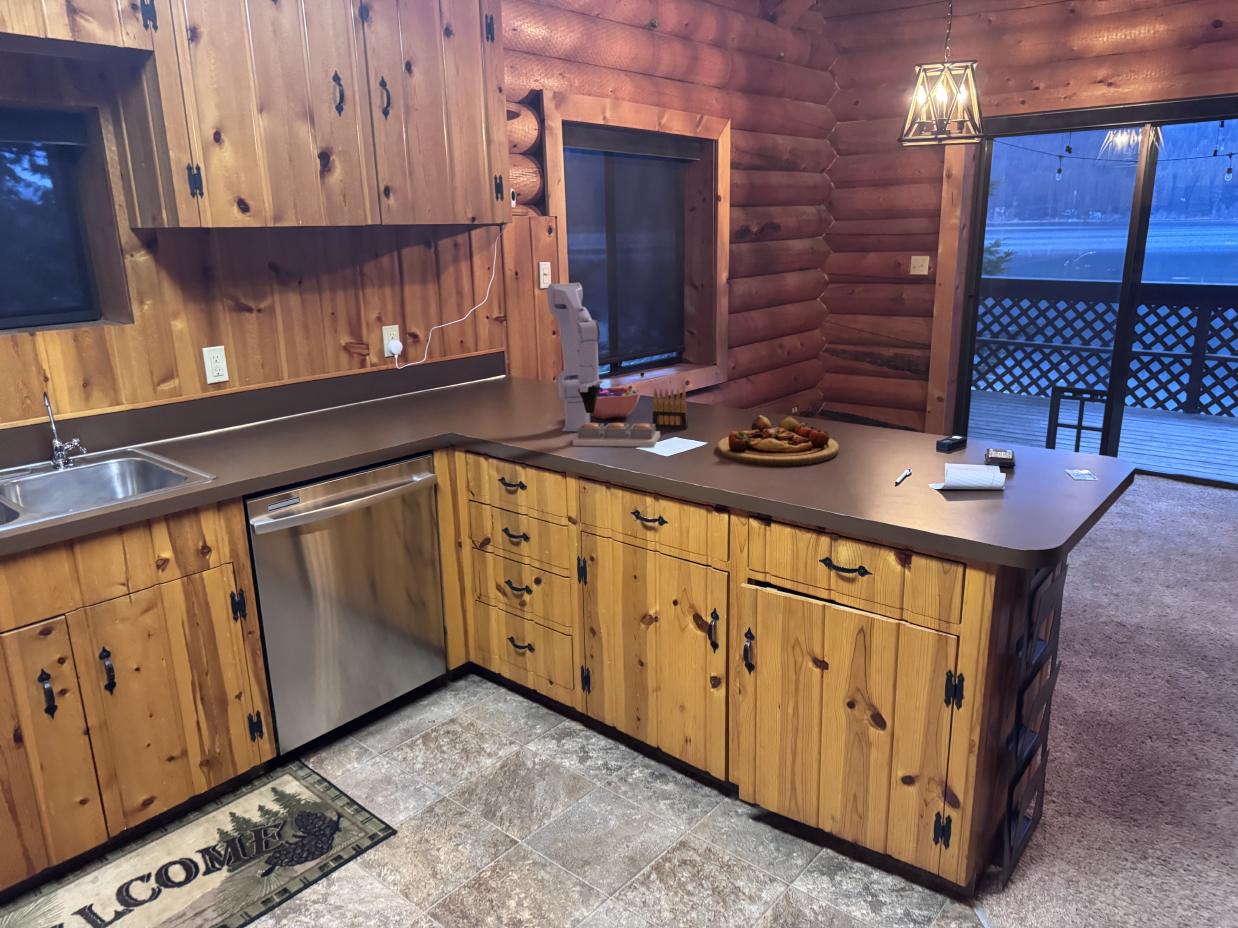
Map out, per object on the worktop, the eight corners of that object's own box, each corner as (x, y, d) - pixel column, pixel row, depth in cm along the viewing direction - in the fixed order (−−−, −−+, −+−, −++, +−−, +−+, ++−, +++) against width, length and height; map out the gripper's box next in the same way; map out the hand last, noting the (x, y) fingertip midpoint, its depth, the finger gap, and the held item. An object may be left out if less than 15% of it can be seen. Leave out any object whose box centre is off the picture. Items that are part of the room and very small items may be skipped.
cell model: (641, 422, 266) (640, 387, 263) (577, 424, 267) (575, 388, 264) (641, 411, 283) (640, 377, 280) (580, 413, 283) (579, 379, 280)
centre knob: (610, 433, 247) (610, 422, 246) (625, 433, 246) (625, 422, 245) (607, 437, 243) (607, 426, 242) (623, 437, 242) (622, 426, 241)
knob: (636, 434, 246) (636, 423, 245) (651, 434, 245) (651, 423, 244) (634, 437, 241) (633, 426, 240) (649, 438, 241) (649, 426, 240)
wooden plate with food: (739, 473, 211) (739, 440, 209) (702, 443, 241) (702, 414, 239) (860, 462, 217) (861, 430, 214) (809, 434, 247) (810, 406, 245)
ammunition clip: (652, 427, 259) (651, 388, 256) (654, 426, 261) (653, 387, 258) (686, 429, 256) (685, 389, 253) (688, 428, 257) (687, 388, 254)
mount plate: (582, 435, 253) (582, 421, 252) (660, 436, 248) (659, 421, 247) (572, 445, 241) (572, 430, 240) (653, 446, 237) (653, 431, 236)
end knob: (585, 433, 248) (585, 422, 248) (600, 433, 248) (599, 422, 247) (582, 437, 244) (581, 426, 243) (597, 437, 243) (596, 426, 243)
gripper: (596, 369, 233) (598, 418, 237) (607, 361, 247) (609, 407, 250) (571, 369, 234) (573, 418, 238) (583, 361, 248) (585, 407, 252)
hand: (590, 412), depth 244 cm, fingers closed
